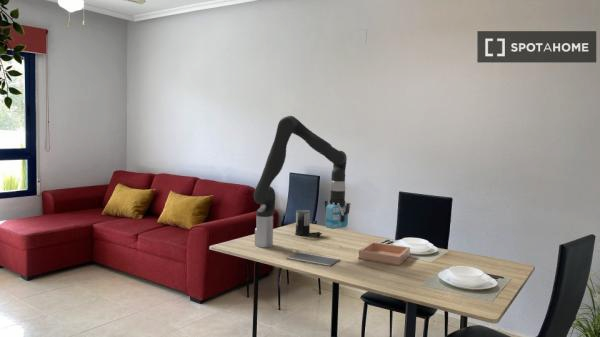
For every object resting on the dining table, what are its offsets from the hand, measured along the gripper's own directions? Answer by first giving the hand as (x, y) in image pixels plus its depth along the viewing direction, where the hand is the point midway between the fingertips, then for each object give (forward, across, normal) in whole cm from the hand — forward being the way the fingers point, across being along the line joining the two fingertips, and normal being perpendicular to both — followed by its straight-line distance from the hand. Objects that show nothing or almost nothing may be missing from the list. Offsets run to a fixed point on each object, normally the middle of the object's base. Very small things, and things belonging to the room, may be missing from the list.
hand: (336, 221), depth 235 cm
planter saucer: (+18, +23, +10) cm, 31 cm away
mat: (+18, -7, -13) cm, 23 cm away
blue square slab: (+3, 0, 0) cm, 3 cm away
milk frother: (+19, -32, +30) cm, 47 cm away
